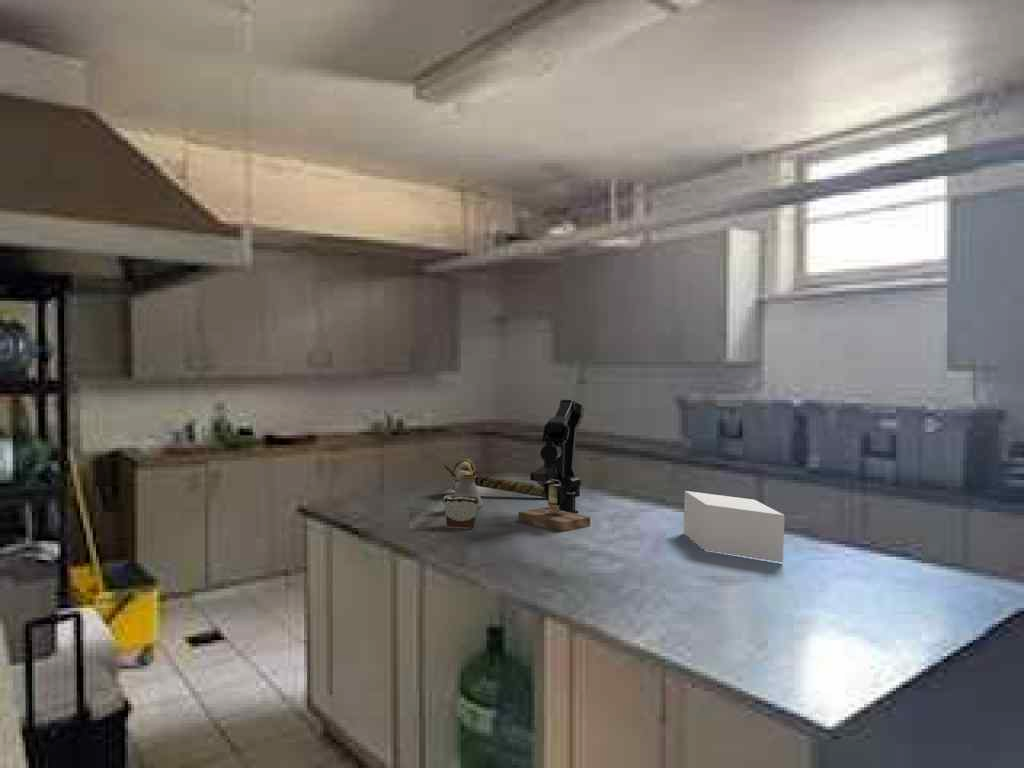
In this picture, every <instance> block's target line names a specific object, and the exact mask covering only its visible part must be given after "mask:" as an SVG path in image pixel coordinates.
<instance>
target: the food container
mask: <svg viewBox="0 0 1024 768" xmlns="http://www.w3.org/2000/svg"><path fill="white" fill-rule="evenodd" d="M441 502H442V504H443V505H444V516H445V528H450V529H451V528H453V529H469V528H472V529H476V520H477V515H478V514H477V513H478V512H477V507H478V503H479V505H480V502H479V499H478V497H477V496H474V495H466V494H455V493H454V494H447V495H445V496H443V498H442V501H441Z"/></svg>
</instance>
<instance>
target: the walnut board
mask: <svg viewBox="0 0 1024 768" xmlns="http://www.w3.org/2000/svg"><path fill="white" fill-rule="evenodd" d="M517 520H518V522H521V523H525V524H529V525H533V526H536V527H539V528H540V527H541V528H544V529H548V530H552V531H556V532H559V533H563V532H569V531H573V530H578V529H582V528H587V527H591V517H590V516H586V515H581V514H578V513H570V512H565V511H561V510H559V512H558V513H551V512H549V506H548V507H541V508H535V509H531V510H524V511H519V512H518V519H517Z"/></svg>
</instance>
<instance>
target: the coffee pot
mask: <svg viewBox="0 0 1024 768" xmlns="http://www.w3.org/2000/svg"><path fill="white" fill-rule="evenodd" d="M443 467H444V469H443ZM441 469H442V470H447V471H448V472H449V474H450V475H451V474H452V475H453V476H454V477H455V478H456V479H457V480H458V481H459V482H460V484H459V486H458V489H457V491H456V493H455V492H454V494H466V495H474V496H477V497H478V499H479V502H480V505H479V503H478V507H477V513H478V511H480V510H481V509H482V507H483V506H484V502H483V501H482V497H481V495H480V493H479V489H478V487H477V485H476V484H475V478H476V477H477V476H476V475H460V476H459V478H460V479H459V478H458V477H457V475H456V474H455V473H454V472H453V469H451V468H450V467H449V466H448V465H446V464H444V465H443V466H442V467H441Z"/></svg>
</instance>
